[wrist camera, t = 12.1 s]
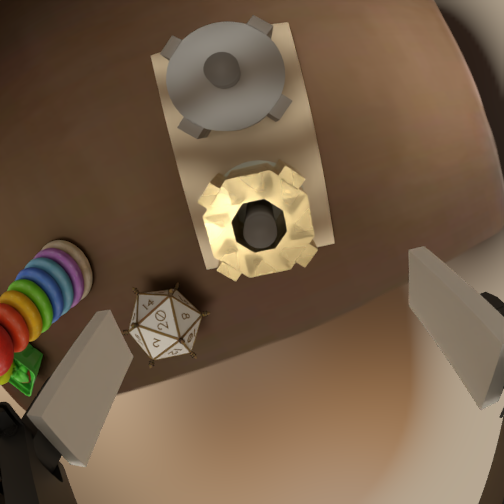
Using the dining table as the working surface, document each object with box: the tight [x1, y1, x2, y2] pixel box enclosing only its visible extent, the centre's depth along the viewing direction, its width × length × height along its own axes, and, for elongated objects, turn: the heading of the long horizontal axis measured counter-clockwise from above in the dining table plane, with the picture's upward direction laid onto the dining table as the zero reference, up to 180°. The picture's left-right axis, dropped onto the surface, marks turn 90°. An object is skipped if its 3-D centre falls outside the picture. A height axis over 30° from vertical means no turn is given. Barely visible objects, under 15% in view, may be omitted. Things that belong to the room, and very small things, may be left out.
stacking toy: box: [0, 240, 93, 376], centre depth 26 cm, size 8×8×19 cm
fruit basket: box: [0, 343, 43, 396], centre depth 34 cm, size 11×9×11 cm
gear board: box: [151, 15, 334, 270], centre depth 25 cm, size 22×13×9 cm, turn 13°
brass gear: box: [198, 159, 318, 281], centre depth 27 cm, size 8×8×6 cm
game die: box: [122, 283, 210, 368], centre depth 32 cm, size 9×8×10 cm
